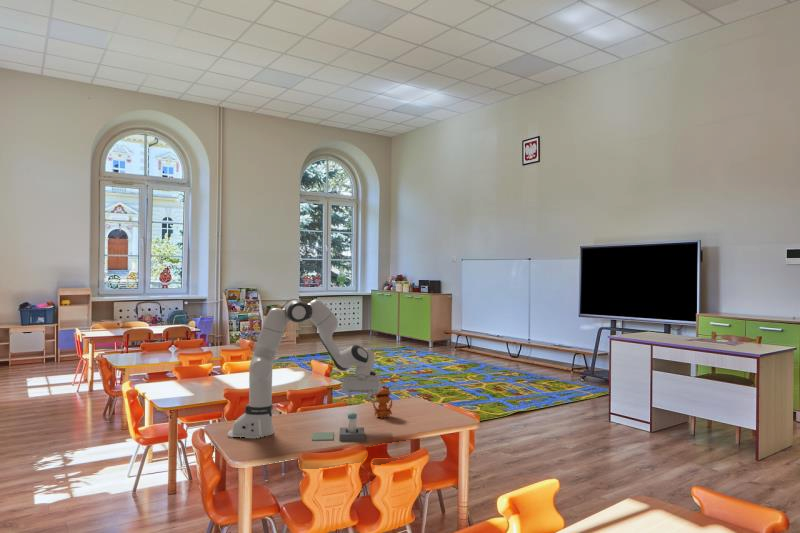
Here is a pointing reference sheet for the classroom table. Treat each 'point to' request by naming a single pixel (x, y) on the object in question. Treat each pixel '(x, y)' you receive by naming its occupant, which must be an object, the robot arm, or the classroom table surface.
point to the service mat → (322, 436)
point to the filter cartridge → (352, 422)
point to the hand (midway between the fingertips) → (358, 398)
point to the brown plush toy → (383, 402)
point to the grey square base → (352, 434)
